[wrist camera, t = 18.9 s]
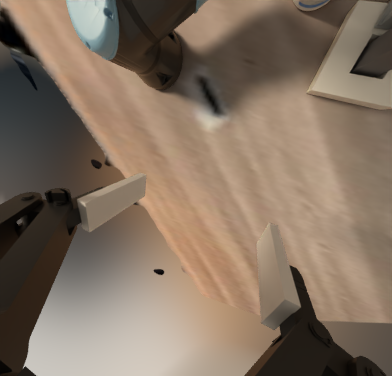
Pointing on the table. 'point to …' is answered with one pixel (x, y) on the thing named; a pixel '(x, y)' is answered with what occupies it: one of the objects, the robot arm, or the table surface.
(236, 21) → the table surface
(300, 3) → the supplement tub
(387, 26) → the plate
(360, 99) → the socket plate
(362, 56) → the plug
